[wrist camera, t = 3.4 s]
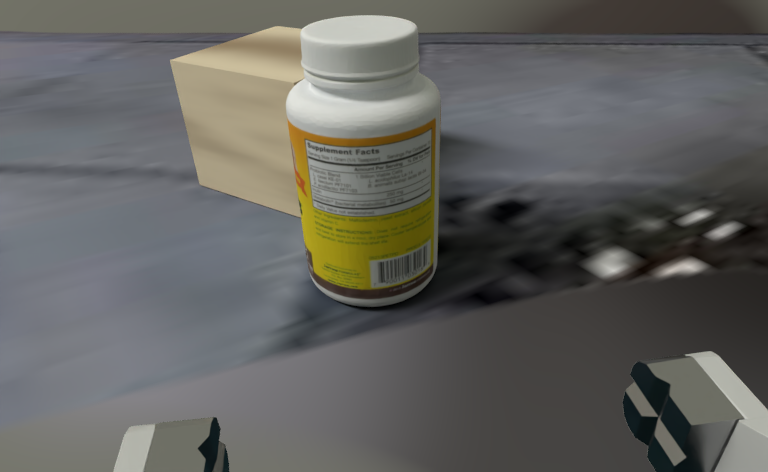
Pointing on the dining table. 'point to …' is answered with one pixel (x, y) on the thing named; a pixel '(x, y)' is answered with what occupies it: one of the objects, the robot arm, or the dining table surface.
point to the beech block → (243, 115)
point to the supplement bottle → (366, 159)
